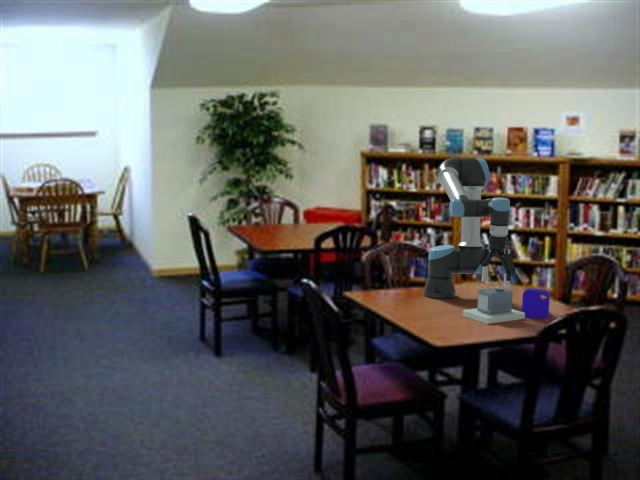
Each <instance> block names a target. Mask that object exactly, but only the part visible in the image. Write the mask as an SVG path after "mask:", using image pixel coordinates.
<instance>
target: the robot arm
mask: <svg viewBox="0 0 640 480" xmlns="http://www.w3.org/2000/svg"><path fill="white" fill-rule="evenodd" d="M489 170H490V169H489V166H488V163H487V161H486V160H485V159H484V158H482V157H481V158H480V157H450V158H448V159H446V160H444V161H442V162H441V163H440V165H439V166H438V167H437V171H436V179H437V182H438V183H439V184H440V185H441V186H443V188H444V190H445V193H446V194H447V196H448V198H449V200H450V201H449V205H448V206H449V207H448V210H449V214H450V216H451V217H454V218H461V233H460V234H461V235H460V238H461V239H460V242H459V243H458V244H457V248H455V246H454V245H449V244H448V245H446V244H445V245H437V246H434V247H431V248H430V249H429V252H428V258H427V259H428V266H427V279H426V283H425V286H424V288H423V293H422V294H423V296H424V297H428V298H433V299H439V300H440V299H444V300H446V299H453V298H456V297H457V291H456V287H455V284H454V283H455V282H454V275H455V274H456V275H458V274H460V275H461V274H465V275H469V274H470V275H475V274H481V279H480V280H481V283H484V282H488V278H489V277H488V276H489V263H490V262H491V261H492V259H493V258H498V259H499V261H500V262H501V265H502V266H503V269H504V273H503V274H504V275H503V285H502V287H503V288H504V289H511V288H510V284H511V280H512V273H516V266H515V263H514V260H513V256H512V248H506V246H507V245H508V234H509V224H510V209H511V204H510V203H511V201H510V199H509V198H506V197H493V198H486V199H482V191H483V189H485V186H486V185H485V184H488V183H489V181H490V180H489V179H490V171H489ZM481 218H490V222H489V234H490V235H488V236H489V237H488V243H485V244H484V245H483V243H481Z"/></svg>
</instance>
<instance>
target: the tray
mask: <svg viewBox="0 0 640 480" xmlns="http://www.w3.org/2000/svg"><path fill="white" fill-rule="evenodd" d="M462 316H463V317H465V318H468V319H471V320H474V321H477V322H480V323H483V324H486V325H489V324H496V323H503V322H510V321H516V320H517V321H518V320H524V319H526V317H525V313H524V312H522V311H519V310H516V309H513V308H512V312H506V313H499V314H491V315H489V314H486V313H483V312H480V311H477V308H471V309H463V310H462Z"/></svg>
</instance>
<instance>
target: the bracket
mask: <svg viewBox="0 0 640 480" xmlns="http://www.w3.org/2000/svg"><path fill="white" fill-rule="evenodd" d="M550 293H551V292H549V290H547V289H543V288H541V289H540V288H530V287H529V288H525V290H523V293H522V302H521V303H522V305H521V312H524V313H525V318H530V319H531V318H533V319H540V318H547V319H546V320H549V317H548V316H549V315H550V313H549V312H550V299H551V294H550ZM542 295H545V298H543V297H542Z"/></svg>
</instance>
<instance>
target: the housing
mask: <svg viewBox="0 0 640 480" xmlns="http://www.w3.org/2000/svg"><path fill="white" fill-rule="evenodd" d="M513 293H514V292H513V290H510V289H509V288H506V289H504V288H503V285H502V286H501V285H496V286H495V287H491V288H490V287H489V288H482V289H478V290H477V305H476V306H477V307H476V309H477V311H480V312H483V313H486V314H489V315H491V314H499V313H506V312H512V309H513Z"/></svg>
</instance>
